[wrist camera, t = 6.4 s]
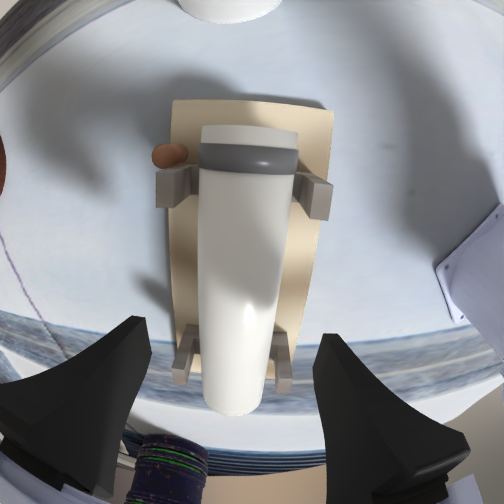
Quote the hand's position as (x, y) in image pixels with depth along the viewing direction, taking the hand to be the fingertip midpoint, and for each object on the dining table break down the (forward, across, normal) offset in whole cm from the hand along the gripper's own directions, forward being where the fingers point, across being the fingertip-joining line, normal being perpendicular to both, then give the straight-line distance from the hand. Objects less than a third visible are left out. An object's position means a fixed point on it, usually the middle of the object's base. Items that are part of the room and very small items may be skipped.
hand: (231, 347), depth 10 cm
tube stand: (+8, 0, 0) cm, 8 cm away
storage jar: (+8, +8, +30) cm, 32 cm away
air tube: (+4, 0, 0) cm, 4 cm away
